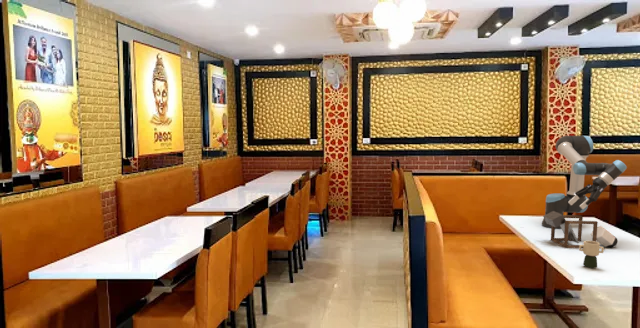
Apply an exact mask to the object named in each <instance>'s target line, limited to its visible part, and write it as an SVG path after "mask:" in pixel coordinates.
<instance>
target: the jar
mask: <svg viewBox="0 0 640 328" xmlns="http://www.w3.org/2000/svg"><path fill="white" fill-rule="evenodd" d="M590 236H591V237H592V238H593V230H592V232H591V233H590ZM596 242H599V243H600V244H601V245H602V247H604V248H608V249H609V248H610V249H612V248H615V246H617V244H618V238H617V237H616V236H614V235H613V234H612V233H611V232H610V231H609V230H607V229H606V228H605V227H603V226H602V225H600V226H599V225H598V226H597V239H596Z"/></svg>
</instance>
